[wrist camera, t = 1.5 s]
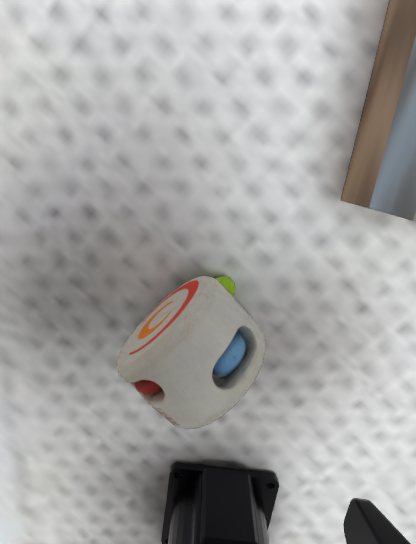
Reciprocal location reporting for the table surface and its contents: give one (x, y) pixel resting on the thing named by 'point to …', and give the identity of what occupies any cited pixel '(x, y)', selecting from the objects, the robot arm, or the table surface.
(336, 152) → the table surface
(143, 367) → the roller toy
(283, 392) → the table surface
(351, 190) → the open square bin
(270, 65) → the table surface
